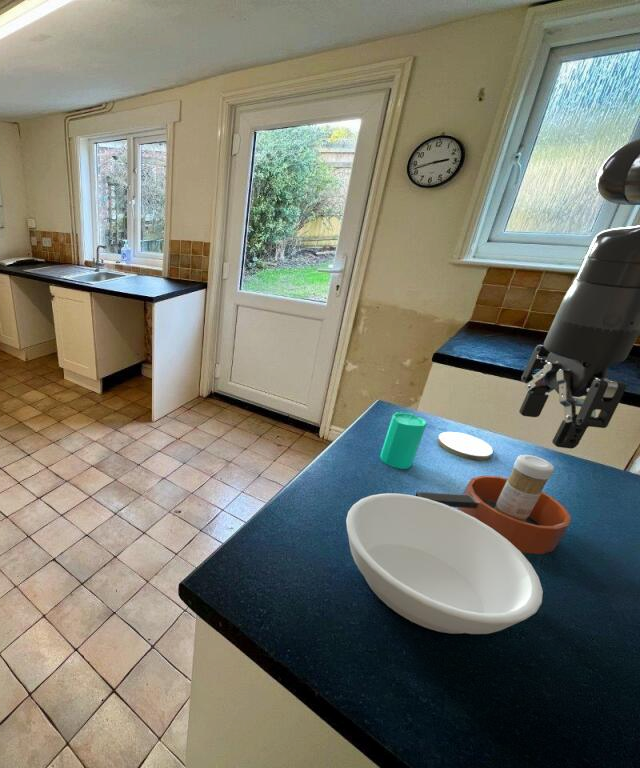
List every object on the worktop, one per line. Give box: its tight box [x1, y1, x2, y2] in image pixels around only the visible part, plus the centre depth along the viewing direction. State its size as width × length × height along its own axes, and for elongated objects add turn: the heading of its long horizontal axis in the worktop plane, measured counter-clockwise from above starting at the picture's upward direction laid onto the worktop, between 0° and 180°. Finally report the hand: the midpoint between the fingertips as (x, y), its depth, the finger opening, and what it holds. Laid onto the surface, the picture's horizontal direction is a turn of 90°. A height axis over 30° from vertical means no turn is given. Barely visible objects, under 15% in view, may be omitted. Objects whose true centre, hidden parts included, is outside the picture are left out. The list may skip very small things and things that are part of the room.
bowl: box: [345, 492, 544, 635], centre depth 60 cm, size 22×22×8 cm
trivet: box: [437, 431, 494, 461], centre depth 95 cm, size 10×10×1 cm
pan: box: [414, 474, 572, 555], centre depth 72 cm, size 22×13×6 cm, turn 84°
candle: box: [379, 411, 427, 470], centre depth 88 cm, size 6×6×12 cm
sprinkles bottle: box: [493, 454, 555, 522], centre depth 70 cm, size 5×5×13 cm
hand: (544, 429), depth 58 cm, fingers open, 8 cm apart
